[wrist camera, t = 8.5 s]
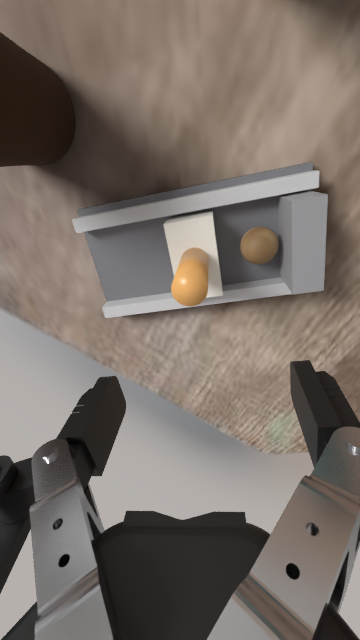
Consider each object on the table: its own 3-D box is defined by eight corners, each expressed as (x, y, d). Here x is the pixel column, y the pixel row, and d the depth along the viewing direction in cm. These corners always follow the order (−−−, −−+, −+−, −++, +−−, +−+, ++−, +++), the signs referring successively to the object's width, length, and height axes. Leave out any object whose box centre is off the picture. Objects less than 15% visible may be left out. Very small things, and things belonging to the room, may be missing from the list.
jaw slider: (212, 210, 31) (212, 230, 21) (221, 282, 35) (226, 331, 25) (168, 218, 32) (147, 242, 22) (182, 288, 36) (170, 337, 25)
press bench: (308, 162, 30) (335, 160, 23) (306, 286, 36) (328, 312, 30) (81, 208, 34) (51, 218, 28) (115, 311, 41) (96, 339, 34)
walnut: (273, 220, 31) (281, 227, 28) (275, 255, 33) (282, 266, 30) (237, 226, 32) (240, 233, 29) (240, 261, 34) (243, 271, 30)
